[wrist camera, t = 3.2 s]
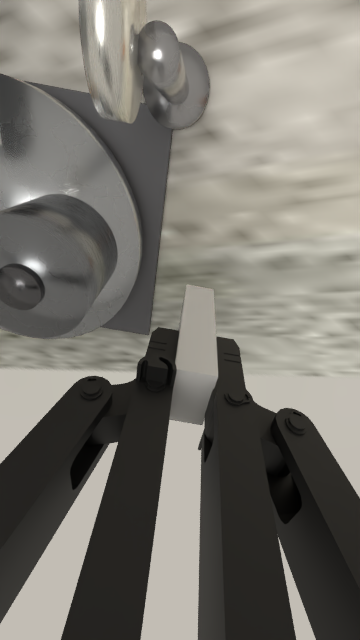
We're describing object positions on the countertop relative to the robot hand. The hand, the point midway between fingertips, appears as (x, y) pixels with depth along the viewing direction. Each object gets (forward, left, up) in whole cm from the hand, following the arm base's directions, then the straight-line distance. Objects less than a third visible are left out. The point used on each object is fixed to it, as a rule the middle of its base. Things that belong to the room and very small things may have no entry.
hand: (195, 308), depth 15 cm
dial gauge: (-3, +10, -9) cm, 14 cm away
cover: (-9, 0, -5) cm, 11 cm away
